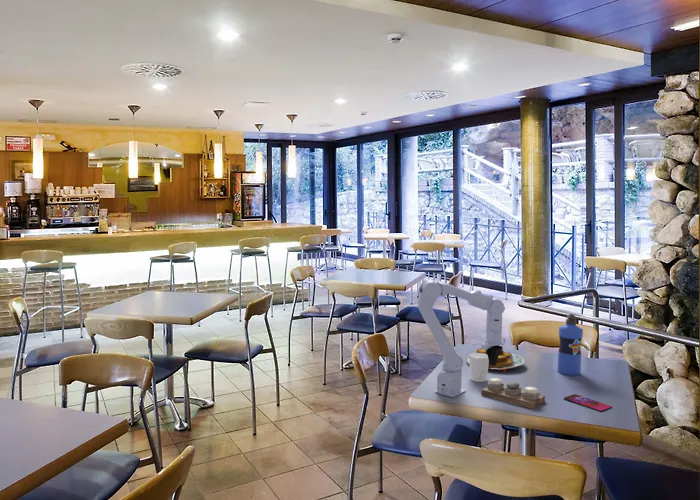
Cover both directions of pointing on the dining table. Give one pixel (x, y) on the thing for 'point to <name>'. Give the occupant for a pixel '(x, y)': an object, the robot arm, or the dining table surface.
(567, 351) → the water bottle
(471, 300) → the robot arm
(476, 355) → the white cup
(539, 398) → the knob mount
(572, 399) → the smartphone
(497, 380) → the left knob
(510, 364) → the food on plate
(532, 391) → the right knob
